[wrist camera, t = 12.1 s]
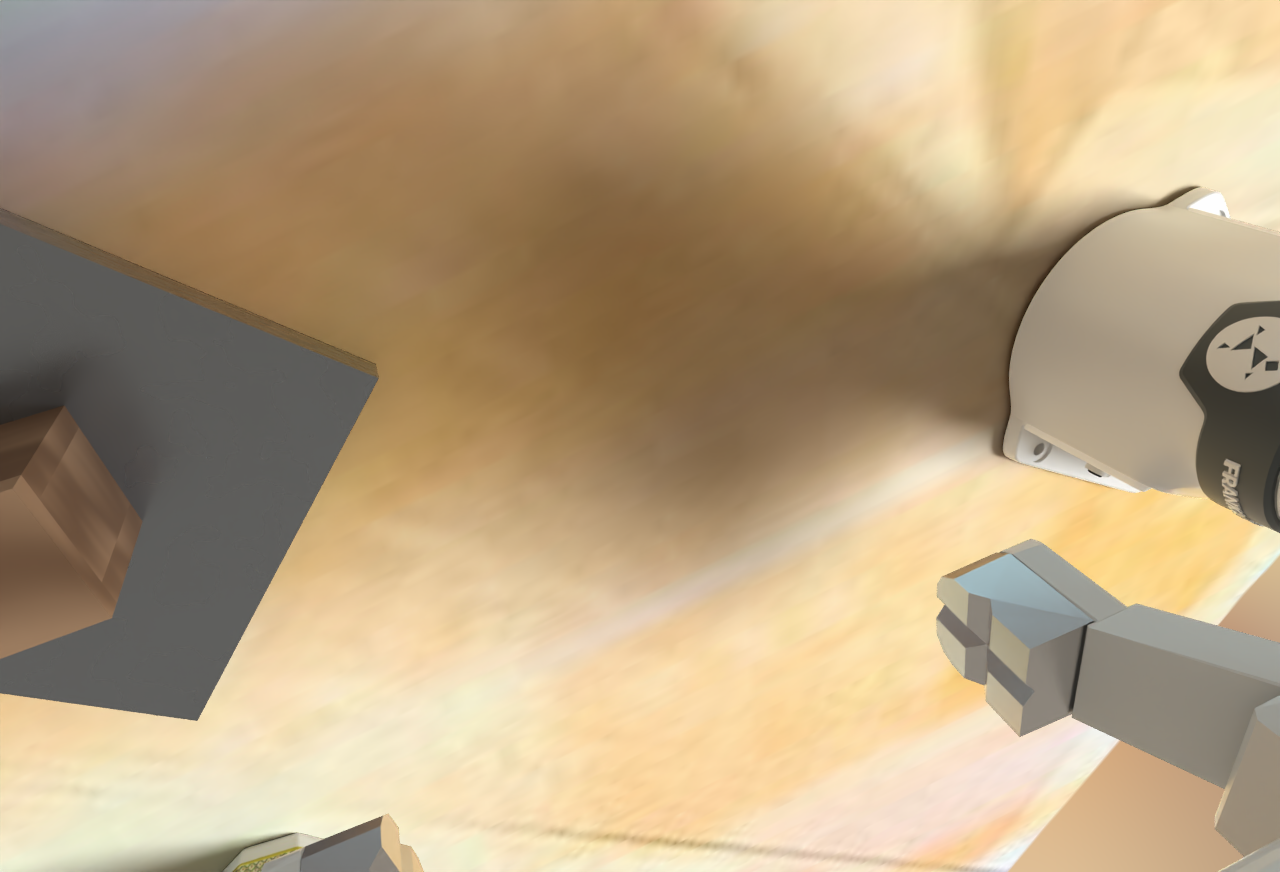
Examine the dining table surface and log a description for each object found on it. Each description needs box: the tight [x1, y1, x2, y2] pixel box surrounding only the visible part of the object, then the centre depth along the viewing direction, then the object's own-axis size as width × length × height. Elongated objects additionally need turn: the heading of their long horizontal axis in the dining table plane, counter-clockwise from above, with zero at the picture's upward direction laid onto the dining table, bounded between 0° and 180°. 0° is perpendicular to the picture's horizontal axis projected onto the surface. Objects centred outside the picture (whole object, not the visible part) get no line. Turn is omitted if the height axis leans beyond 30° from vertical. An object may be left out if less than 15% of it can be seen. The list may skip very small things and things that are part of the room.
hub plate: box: [0, 208, 378, 721], centre depth 26 cm, size 18×18×6 cm
